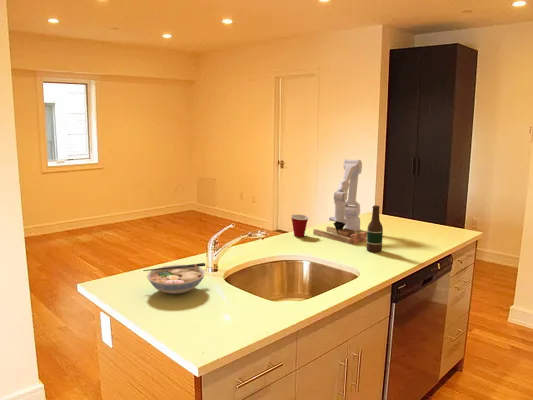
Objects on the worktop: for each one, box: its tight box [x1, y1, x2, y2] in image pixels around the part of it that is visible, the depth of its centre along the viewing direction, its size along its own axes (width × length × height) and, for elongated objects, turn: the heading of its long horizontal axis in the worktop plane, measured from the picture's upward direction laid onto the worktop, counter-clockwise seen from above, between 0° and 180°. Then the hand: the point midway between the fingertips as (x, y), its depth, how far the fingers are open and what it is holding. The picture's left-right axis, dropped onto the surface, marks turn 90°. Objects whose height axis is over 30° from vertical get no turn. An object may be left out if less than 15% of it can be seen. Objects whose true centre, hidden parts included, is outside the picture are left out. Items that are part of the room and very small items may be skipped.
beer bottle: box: [366, 205, 384, 254], centre depth 237 cm, size 8×8×24 cm
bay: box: [312, 226, 367, 245], centre depth 266 cm, size 13×30×5 cm, turn 40°
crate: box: [337, 227, 356, 238], centre depth 262 cm, size 7×7×5 cm
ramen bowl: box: [142, 262, 206, 295], centre depth 181 cm, size 25×23×8 cm
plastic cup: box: [290, 214, 310, 238], centre depth 268 cm, size 11×11×12 cm
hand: (339, 234), depth 266 cm, fingers closed
